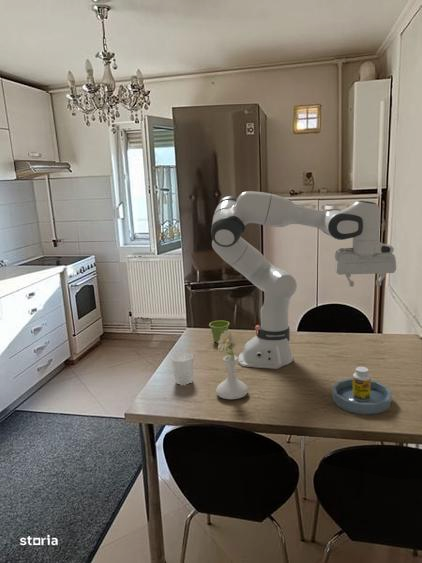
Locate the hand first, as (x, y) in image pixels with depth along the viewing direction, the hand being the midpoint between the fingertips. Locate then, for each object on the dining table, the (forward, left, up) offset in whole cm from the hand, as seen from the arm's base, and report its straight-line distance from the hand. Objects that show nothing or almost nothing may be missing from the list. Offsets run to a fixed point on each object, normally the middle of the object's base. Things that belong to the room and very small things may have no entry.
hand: (364, 285), depth 155 cm
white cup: (-67, -6, -34) cm, 75 cm away
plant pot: (-57, +36, -34) cm, 76 cm away
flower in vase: (-48, -17, -34) cm, 61 cm away
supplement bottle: (-5, -20, -33) cm, 39 cm away
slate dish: (-5, -20, -34) cm, 40 cm away
